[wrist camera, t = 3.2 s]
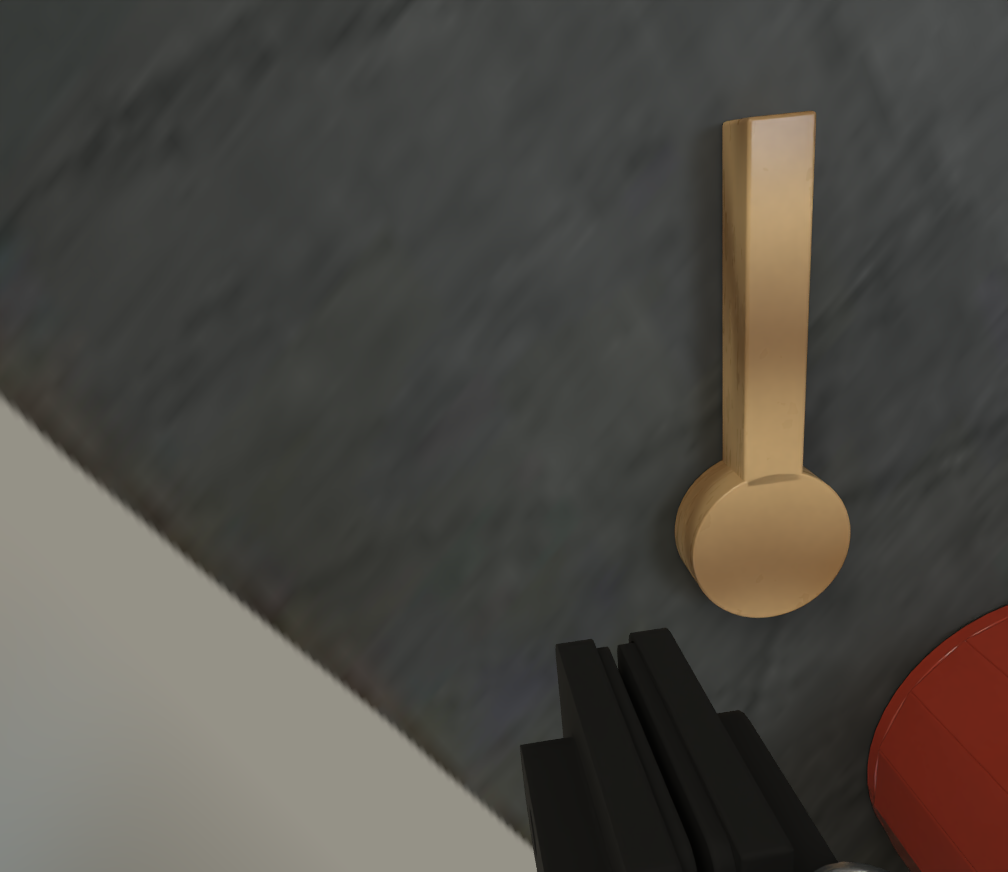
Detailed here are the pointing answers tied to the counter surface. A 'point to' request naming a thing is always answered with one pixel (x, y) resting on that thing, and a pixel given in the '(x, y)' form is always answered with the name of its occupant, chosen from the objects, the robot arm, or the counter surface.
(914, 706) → the pot
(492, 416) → the counter surface
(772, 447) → the spoon
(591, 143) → the counter surface
